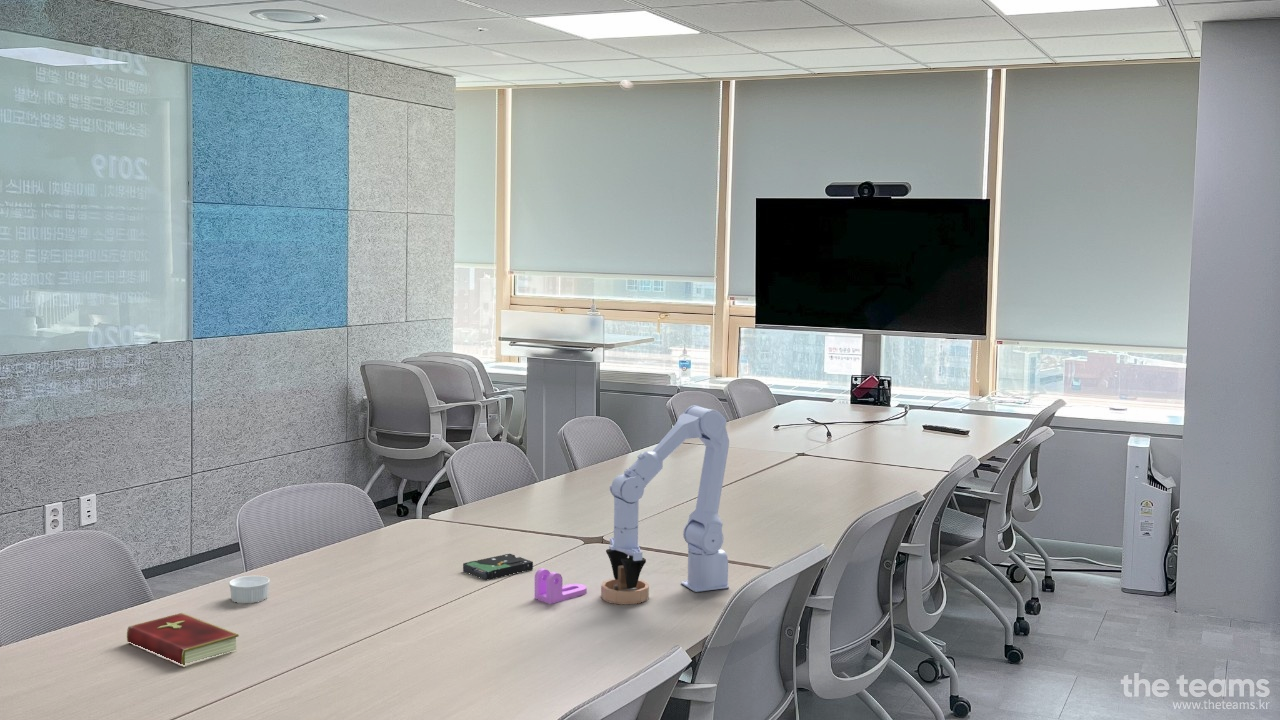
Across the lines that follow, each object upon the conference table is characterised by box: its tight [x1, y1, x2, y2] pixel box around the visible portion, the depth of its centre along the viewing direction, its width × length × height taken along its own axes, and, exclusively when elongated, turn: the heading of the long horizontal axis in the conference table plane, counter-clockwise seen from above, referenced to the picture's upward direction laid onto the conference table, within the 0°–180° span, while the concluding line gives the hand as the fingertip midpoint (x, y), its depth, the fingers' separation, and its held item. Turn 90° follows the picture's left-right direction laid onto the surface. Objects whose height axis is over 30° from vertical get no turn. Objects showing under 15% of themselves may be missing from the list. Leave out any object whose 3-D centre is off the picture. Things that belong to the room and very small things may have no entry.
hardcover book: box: [126, 612, 239, 665], centre depth 226 cm, size 12×21×4 cm, turn 52°
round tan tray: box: [600, 578, 650, 606], centre depth 264 cm, size 11×11×3 cm
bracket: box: [534, 567, 588, 605], centre depth 265 cm, size 13×6×7 cm, turn 136°
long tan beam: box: [618, 565, 629, 591], centre depth 264 cm, size 3×2×7 cm, turn 114°
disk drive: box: [462, 553, 534, 581], centre depth 285 cm, size 10×3×15 cm
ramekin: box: [228, 575, 271, 604], centre depth 258 cm, size 9×9×4 cm
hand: (625, 583), depth 264 cm, fingers open, 7 cm apart
